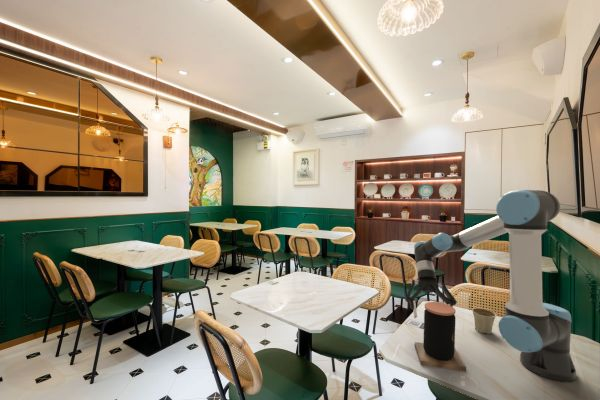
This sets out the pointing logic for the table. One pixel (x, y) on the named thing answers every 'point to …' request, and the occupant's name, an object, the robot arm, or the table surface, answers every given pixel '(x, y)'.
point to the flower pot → (483, 320)
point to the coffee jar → (439, 330)
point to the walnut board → (425, 359)
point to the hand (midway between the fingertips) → (433, 319)
